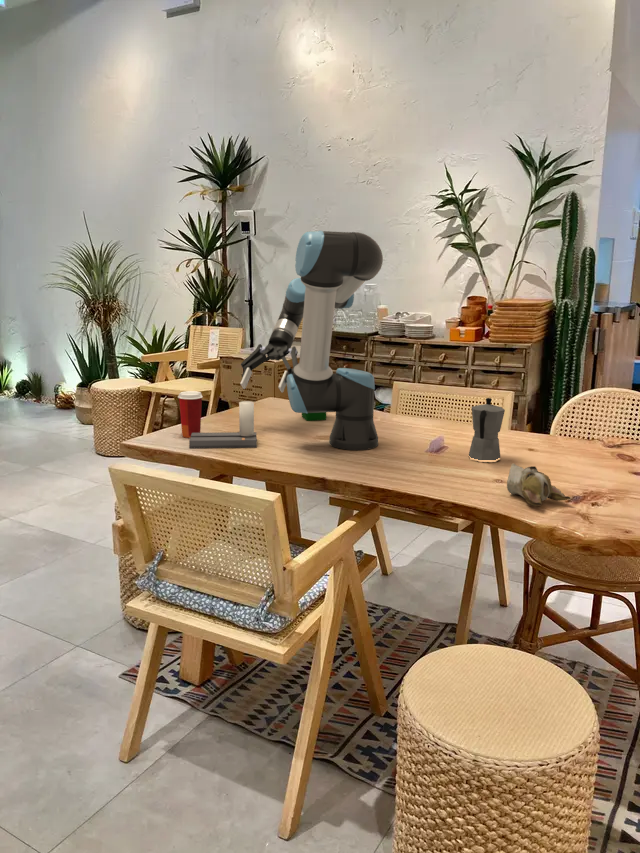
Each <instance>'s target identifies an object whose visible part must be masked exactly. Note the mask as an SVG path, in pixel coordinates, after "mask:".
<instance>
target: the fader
mask: <svg viewBox="0 0 640 853" xmlns="http://www.w3.org/2000/svg"><path fill="white" fill-rule="evenodd" d="M254 403H255V402H254V401H251V400H250V401H249V400H245V401H243V400H242V401H239V402H238V405H239V406H238V408H239V410H238V411H239V413H238V414H239V415H238V416H239V417H238V418H239V424H238V425H239V428H238V429H239V432H240V435H241V436H245V437H249V436H253V435H254V432H255V411H254V410H255V405H254Z"/></svg>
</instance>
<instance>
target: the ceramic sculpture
mask: <svg viewBox="0 0 640 853" xmlns="http://www.w3.org/2000/svg"><path fill="white" fill-rule="evenodd" d="M506 488H507V491H508V493H509V494H510V493H511V494H510V495H515V494H518V496H521V497H522V498H524V500H525V501H526V502H527V504H529V505H531V506H535V507H537V506H542V505H543V504H542V503H543V502H544V501H546V500H547V499H549V500H552V501H556V502H557V501H560V502H561V501H568V500H571V499H572V497H571V496H568V495H567V496H566V495H565V494H564V493H563V492H562V491H561V490H560V489H559V488H557V487H556V486H555V485H552V482H551V479H550V477H549V476H548V475H547V474H545V473H543V472H542V471H538V469H537V467H536V466H528V467H525V468H523V467H522V466H519V465H516V463H512V464H511V465H510V468H509V473H508V477H507V480H506Z"/></svg>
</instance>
